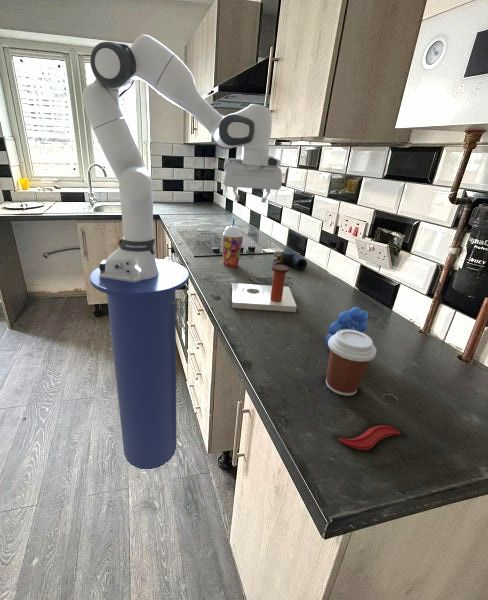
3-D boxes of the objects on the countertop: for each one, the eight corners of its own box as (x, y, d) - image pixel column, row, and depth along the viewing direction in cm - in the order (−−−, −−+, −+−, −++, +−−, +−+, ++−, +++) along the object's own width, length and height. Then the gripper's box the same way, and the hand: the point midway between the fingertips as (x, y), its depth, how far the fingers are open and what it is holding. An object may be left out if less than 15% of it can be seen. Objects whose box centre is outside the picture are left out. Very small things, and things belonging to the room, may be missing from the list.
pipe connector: (281, 258, 133) (270, 248, 146) (279, 270, 135) (269, 259, 148) (308, 258, 134) (294, 248, 148) (305, 270, 137) (292, 259, 150)
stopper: (268, 302, 101) (272, 269, 96) (267, 295, 106) (271, 264, 101) (285, 303, 101) (290, 270, 96) (283, 296, 106) (287, 265, 101)
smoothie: (227, 261, 144) (230, 215, 135) (243, 265, 139) (247, 218, 131) (217, 265, 137) (219, 218, 129) (234, 270, 133) (237, 221, 125)
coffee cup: (310, 377, 71) (320, 330, 66) (341, 368, 75) (353, 323, 70) (341, 405, 64) (355, 355, 59) (373, 393, 67) (389, 345, 62)
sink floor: (231, 307, 101) (232, 302, 100) (232, 288, 116) (232, 283, 115) (295, 312, 100) (296, 306, 99) (288, 291, 115) (289, 286, 114)
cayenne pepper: (343, 450, 54) (345, 441, 53) (332, 428, 58) (334, 420, 57) (411, 448, 55) (415, 440, 54) (396, 427, 59) (399, 419, 58)
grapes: (348, 338, 87) (359, 298, 82) (367, 351, 82) (379, 309, 76) (312, 344, 84) (321, 303, 79) (329, 359, 78) (340, 315, 73)
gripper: (224, 157, 108) (221, 200, 113) (285, 161, 107) (279, 204, 112) (224, 157, 113) (221, 198, 119) (283, 161, 112) (277, 202, 118)
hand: (250, 201), depth 116 cm, fingers open, 8 cm apart
